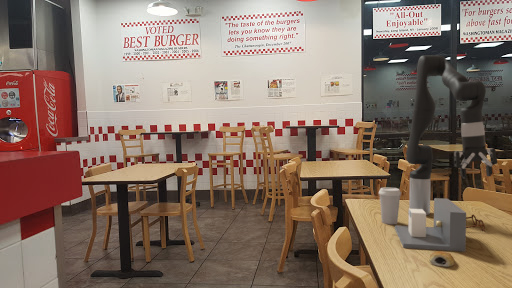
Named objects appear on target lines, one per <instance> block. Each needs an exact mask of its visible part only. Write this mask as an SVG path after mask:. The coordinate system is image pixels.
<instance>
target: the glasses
mask: <svg viewBox="0 0 512 288" xmlns="http://www.w3.org/2000/svg"><path fill="white" fill-rule="evenodd" d="M468 219H471V221H472V223H473V225H469V226H467V225H466V229H471V228H478V227H480V230H481V231H482V232H483V231H484V232H486V227H485V223H484V221H483V220H482V219H478V218H476V216H475V214H471V216H466V220H468ZM482 227H483V228H482Z"/></svg>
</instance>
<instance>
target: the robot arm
mask: <svg viewBox="0 0 512 288" xmlns="http://www.w3.org/2000/svg"><path fill="white" fill-rule="evenodd" d="M416 67H417V68H416V86H415V95H414V102H413V108H412V110H413V111H412V119H411V128H410V134H409V137H408V143H407V147H406V153H405V154H406V156H405V158H406V162H407V163H408V164H409V165H419V166H418V168H416V169H414V170H412V171H410V172H409V203H408V204H409V206H408V207H409V208H408V210H409V209H423V210H424V212H425V213H426V216H428V215H430V214H431V178H432V177H431V175H432V169H433V158H434V155H433V153H434V152H433V150H432V149H433V148H432V147H431V145H428V144H419V143H420V141H421V139H422V137H423V134H424V133H425V132H426V131H427V129H428V128H429V127H430V126H431V125H432V123H433V121H434V118H435V112H436V103H435V99H434V98H433V96H432V94H431V93H430V90H429V88H428V77H439V76H440V77H441V82H442V84H443V86H445V87H446V88H448V90H450V91H451V93H452V95H453V98H454V100H456V101H459V102H465V101H466V102H467V101H468V102H469V101H471V103H470V105H469V106H468V105H467V106H465V107H462V108H461V109H460V113H459V114H460V124H461V125H460V133H461V143H462V151H454V152H453V167H455V168H459V171H460V176H461V177H462V179H467V170H466V169H467V168H466V167H467V165H469V164H470V162H471V163H473V162H483V164H484V165H485V172H486V173H485V175H486V176H487V177H491V176H492V175H493V166H494V165H498V157H497V151H496V149H495V148H493V147H490V148H488V149H487V148H486V134H485V133H486V131H485V125H484V122H483V121H484V120H483V107H484V101H485V97H486V92H487V90H486V89H487V88H486V84H485V83H483V81H482V80H481V81H480V80H472V81H469V79H468V78H467V77H466V75H464V74H462V73H460V72H459V71H457V70H456V69H455V68H454V67H453V66H452V64H451V63H450V62H449V61H448V59H446V58H445V57H444V56H443V55H441V54H440V55H436V54H435V55H431V54H430V55H429V54H427V55H421V56H420V57H419V59H418V61H417V65H416ZM486 154H488V155H489V159H488V158H487V156H486ZM462 156H463V158H462V161H461V160H460V159H461V157H462Z"/></svg>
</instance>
